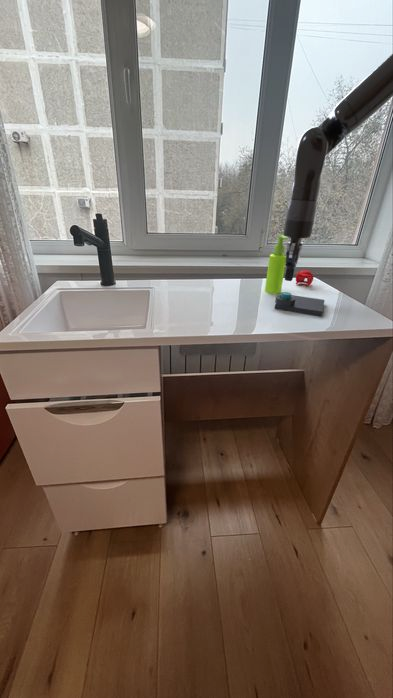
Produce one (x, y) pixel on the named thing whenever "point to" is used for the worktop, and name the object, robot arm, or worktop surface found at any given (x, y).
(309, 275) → the cap
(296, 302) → the scale
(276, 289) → the soap dispenser
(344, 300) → the worktop surface
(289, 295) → the tare button
